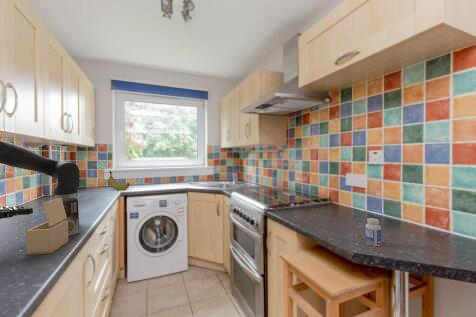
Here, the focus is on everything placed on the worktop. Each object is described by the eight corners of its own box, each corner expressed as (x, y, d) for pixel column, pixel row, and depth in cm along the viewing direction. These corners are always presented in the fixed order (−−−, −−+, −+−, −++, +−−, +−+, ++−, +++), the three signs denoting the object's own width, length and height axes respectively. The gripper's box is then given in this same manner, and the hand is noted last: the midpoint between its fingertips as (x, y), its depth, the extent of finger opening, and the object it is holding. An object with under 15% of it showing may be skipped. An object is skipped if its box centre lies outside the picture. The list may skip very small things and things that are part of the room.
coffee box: (75, 230, 106) (74, 197, 105) (79, 233, 102) (78, 199, 101) (51, 236, 99) (50, 200, 98) (54, 239, 95) (53, 202, 94)
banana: (131, 189, 227) (130, 170, 227) (127, 190, 222) (127, 171, 221) (111, 189, 230) (110, 170, 230) (107, 190, 224) (106, 171, 224)
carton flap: (64, 218, 91) (59, 197, 91) (66, 217, 92) (61, 197, 91) (48, 226, 82) (42, 203, 81) (51, 225, 82) (44, 202, 81)
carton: (46, 243, 91) (46, 221, 91) (68, 241, 92) (67, 220, 92) (26, 255, 80) (25, 231, 80) (51, 253, 81) (50, 229, 81)
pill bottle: (378, 241, 89) (378, 217, 89) (383, 247, 84) (384, 222, 83) (363, 240, 90) (363, 217, 90) (368, 245, 85) (368, 221, 85)
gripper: (-42, 208, 75) (17, 205, 78) (-6, 200, 88) (43, 198, 91) (-41, 229, 75) (18, 226, 78) (-5, 218, 88) (43, 215, 91)
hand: (31, 211), depth 85 cm, fingers closed
